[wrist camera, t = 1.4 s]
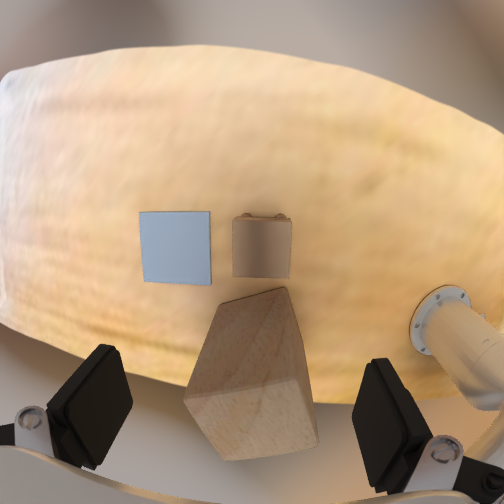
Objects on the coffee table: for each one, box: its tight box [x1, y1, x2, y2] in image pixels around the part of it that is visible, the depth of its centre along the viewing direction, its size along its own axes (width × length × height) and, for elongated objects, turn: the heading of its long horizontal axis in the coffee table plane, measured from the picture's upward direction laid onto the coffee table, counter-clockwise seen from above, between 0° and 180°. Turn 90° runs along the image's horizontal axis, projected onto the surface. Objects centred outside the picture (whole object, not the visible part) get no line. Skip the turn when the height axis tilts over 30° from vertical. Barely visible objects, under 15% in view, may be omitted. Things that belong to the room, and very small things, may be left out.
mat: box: [139, 212, 211, 285], centre depth 39 cm, size 10×10×1 cm
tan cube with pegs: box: [233, 213, 292, 279], centre depth 34 cm, size 6×6×8 cm
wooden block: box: [183, 287, 319, 461], centre depth 31 cm, size 10×10×20 cm
